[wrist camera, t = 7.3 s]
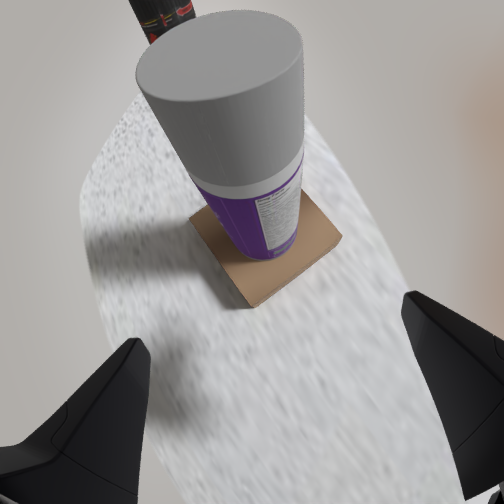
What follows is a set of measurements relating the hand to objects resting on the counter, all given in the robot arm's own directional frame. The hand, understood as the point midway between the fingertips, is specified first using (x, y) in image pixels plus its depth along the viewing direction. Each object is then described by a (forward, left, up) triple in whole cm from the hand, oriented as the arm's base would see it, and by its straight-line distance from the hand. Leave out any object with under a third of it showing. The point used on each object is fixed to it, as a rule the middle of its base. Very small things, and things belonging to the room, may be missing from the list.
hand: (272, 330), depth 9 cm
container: (+6, -3, -10) cm, 12 cm away
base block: (+6, -3, -13) cm, 14 cm away
